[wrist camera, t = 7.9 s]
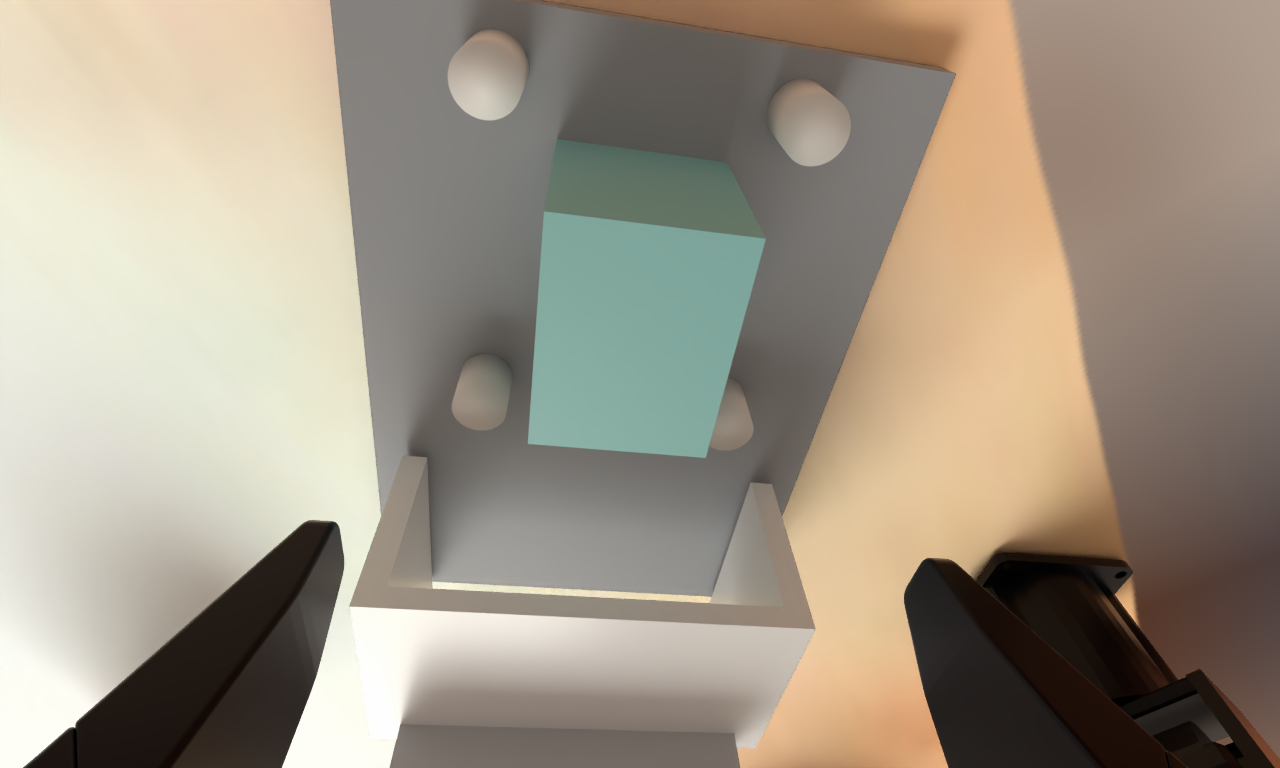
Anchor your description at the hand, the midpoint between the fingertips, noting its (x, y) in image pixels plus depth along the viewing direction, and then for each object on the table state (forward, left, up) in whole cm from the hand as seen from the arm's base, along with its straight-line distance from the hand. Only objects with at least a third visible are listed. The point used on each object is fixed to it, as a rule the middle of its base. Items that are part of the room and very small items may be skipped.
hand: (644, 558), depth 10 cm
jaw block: (0, 0, -11) cm, 11 cm away
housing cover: (0, +12, -11) cm, 16 cm away
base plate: (0, +5, -12) cm, 13 cm away
